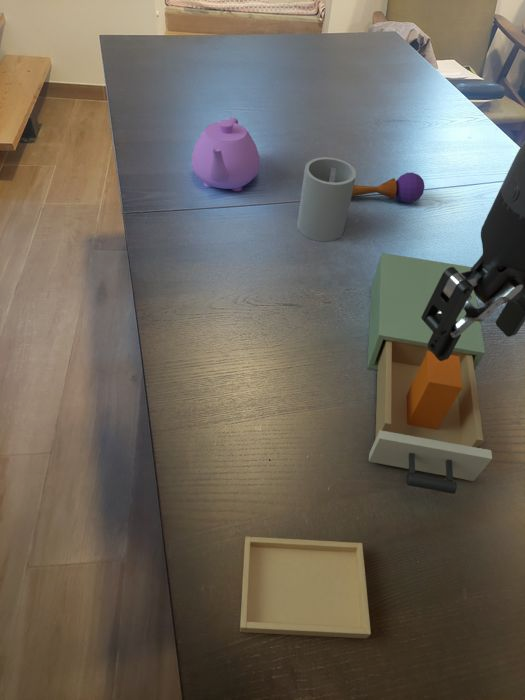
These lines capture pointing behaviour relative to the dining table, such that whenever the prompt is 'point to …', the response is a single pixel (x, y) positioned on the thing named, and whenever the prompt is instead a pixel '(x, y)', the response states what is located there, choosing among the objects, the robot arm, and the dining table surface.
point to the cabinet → (411, 306)
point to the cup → (325, 199)
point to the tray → (304, 588)
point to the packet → (433, 391)
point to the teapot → (225, 156)
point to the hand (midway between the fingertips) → (471, 341)
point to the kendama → (396, 188)
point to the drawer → (423, 443)
